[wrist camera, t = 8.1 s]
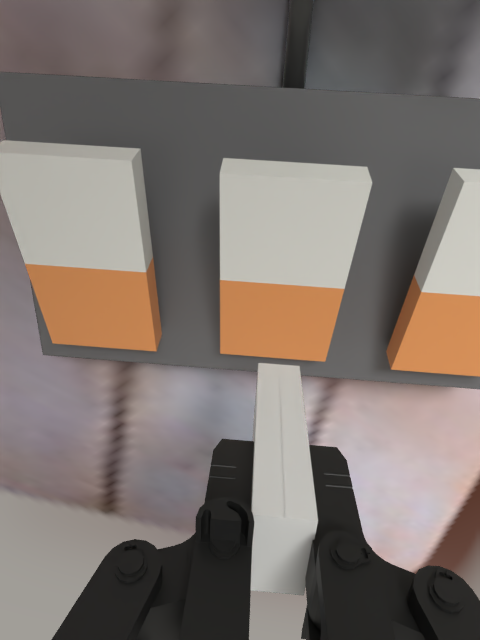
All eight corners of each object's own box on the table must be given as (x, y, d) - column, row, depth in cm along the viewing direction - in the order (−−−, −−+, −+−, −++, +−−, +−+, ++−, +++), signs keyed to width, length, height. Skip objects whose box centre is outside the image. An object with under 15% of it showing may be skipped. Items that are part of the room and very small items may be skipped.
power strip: (10, -168, 17) (-60, -246, 13) (636, -145, 16) (743, -221, 12) (74, 322, 26) (43, 354, 22) (470, 352, 25) (504, 391, 22)
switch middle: (225, 148, 15) (219, 173, 14) (364, 157, 15) (372, 183, 14) (224, 324, 22) (220, 353, 20) (322, 331, 22) (325, 361, 20)
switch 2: (446, 159, 15) (464, 181, 14) (587, 168, 15) (621, 191, 14) (383, 340, 21) (390, 369, 20) (484, 347, 21) (500, 378, 20)
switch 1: (13, 133, 16) (-15, 151, 14) (145, 141, 16) (131, 160, 14) (68, 316, 22) (52, 343, 20) (165, 323, 22) (156, 351, 20)
